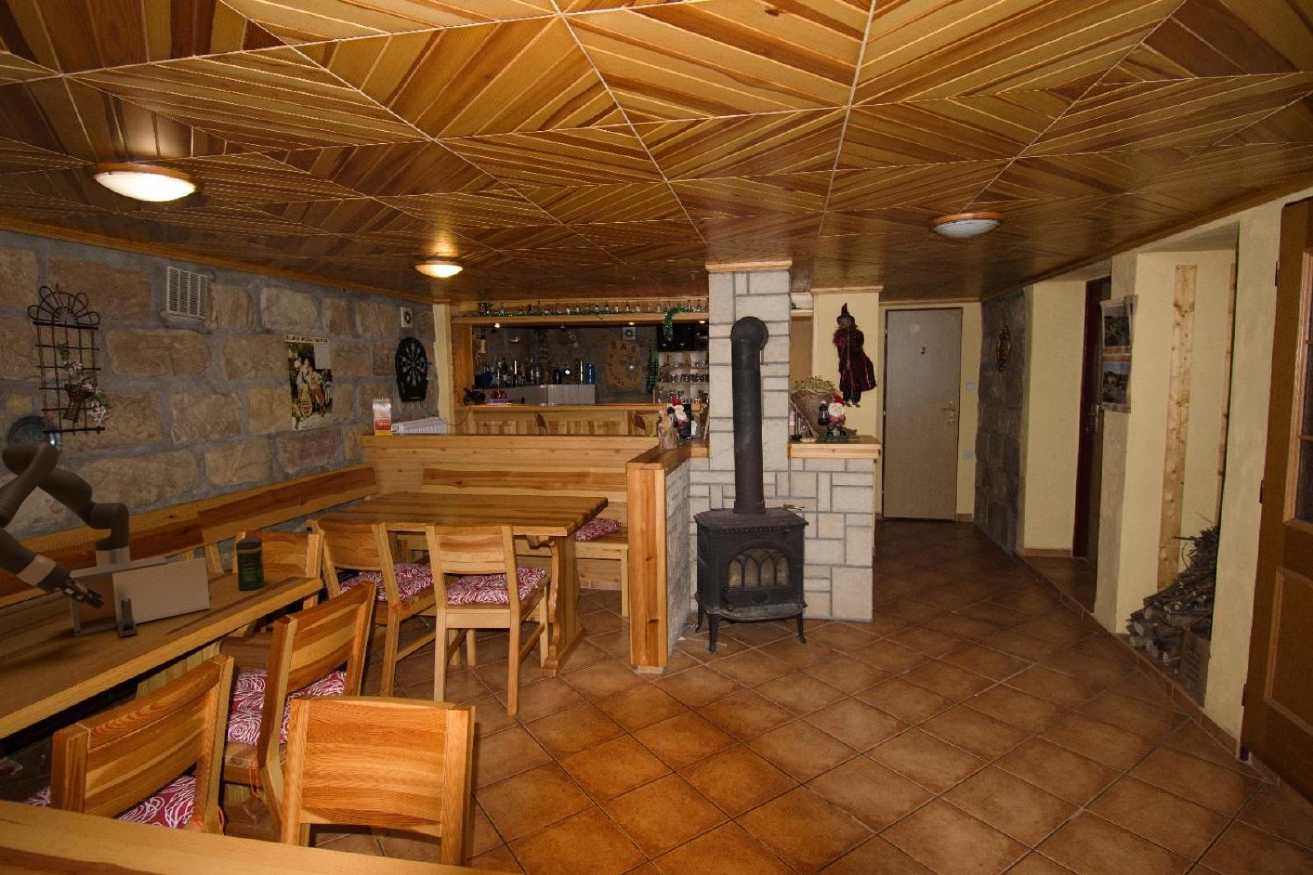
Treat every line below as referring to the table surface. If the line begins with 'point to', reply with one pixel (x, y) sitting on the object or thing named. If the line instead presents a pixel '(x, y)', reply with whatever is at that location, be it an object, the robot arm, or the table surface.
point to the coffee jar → (250, 563)
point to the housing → (102, 583)
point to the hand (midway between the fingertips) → (100, 602)
